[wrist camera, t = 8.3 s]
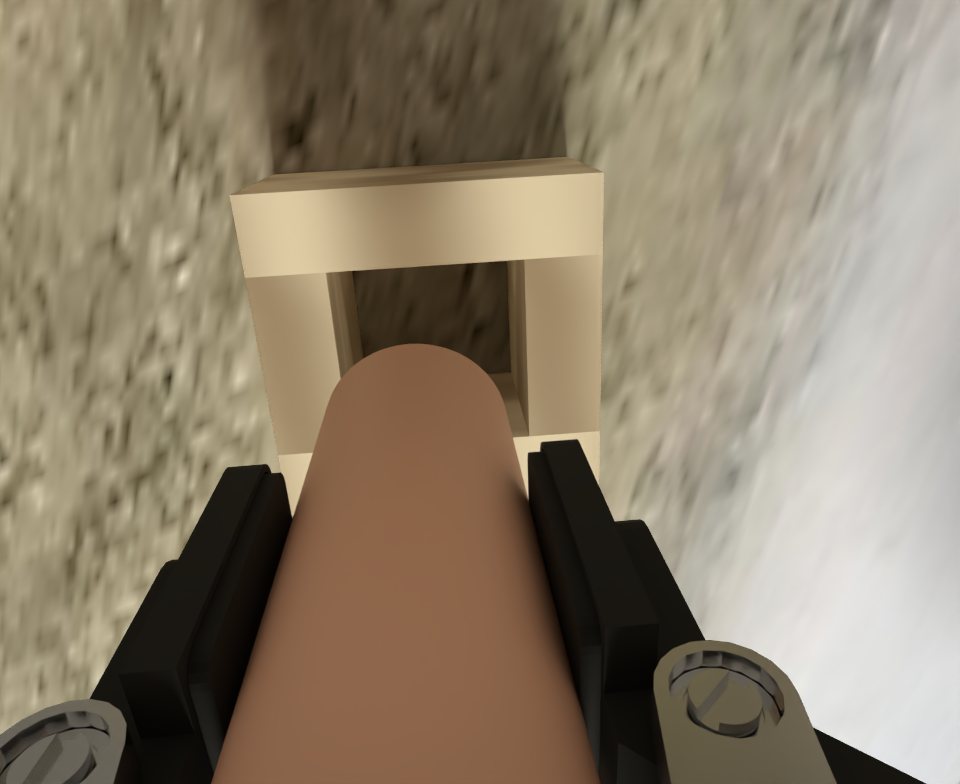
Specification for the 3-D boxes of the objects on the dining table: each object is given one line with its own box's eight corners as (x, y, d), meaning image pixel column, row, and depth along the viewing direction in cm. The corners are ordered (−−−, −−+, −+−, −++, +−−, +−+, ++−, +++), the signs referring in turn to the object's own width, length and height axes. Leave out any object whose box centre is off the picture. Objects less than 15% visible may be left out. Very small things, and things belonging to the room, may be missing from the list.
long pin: (503, 336, 13) (897, 1564, 2) (510, 499, 15) (768, 1731, 4) (312, 350, 13) (-291, 1757, 2) (337, 514, 14) (62, 1853, 3)
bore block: (567, 156, 22) (603, 172, 17) (568, 420, 25) (598, 492, 20) (273, 174, 21) (229, 195, 17) (316, 438, 25) (289, 516, 20)
